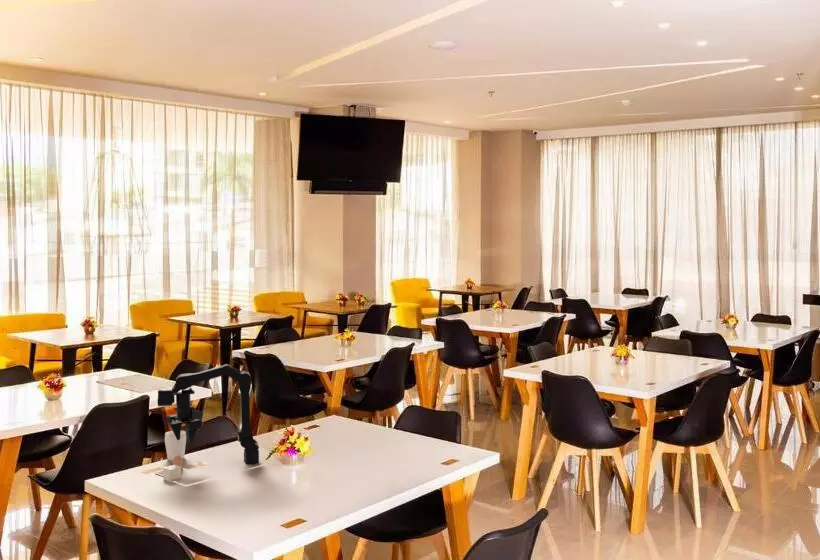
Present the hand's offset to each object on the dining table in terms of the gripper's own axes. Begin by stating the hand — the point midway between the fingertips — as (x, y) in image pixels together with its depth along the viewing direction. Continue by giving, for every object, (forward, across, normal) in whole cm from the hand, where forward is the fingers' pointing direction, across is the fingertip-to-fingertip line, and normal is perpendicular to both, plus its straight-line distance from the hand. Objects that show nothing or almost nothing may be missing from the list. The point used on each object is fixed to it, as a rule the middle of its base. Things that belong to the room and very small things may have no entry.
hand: (184, 441), depth 339 cm
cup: (+12, +15, -5) cm, 20 cm away
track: (+12, 0, +1) cm, 12 cm away
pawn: (+11, 0, +4) cm, 12 cm away
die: (+12, -8, +12) cm, 19 cm away
